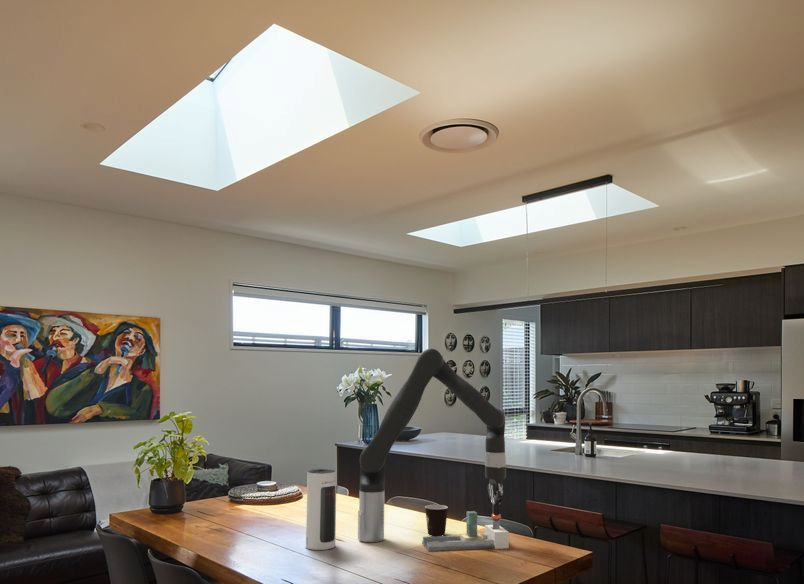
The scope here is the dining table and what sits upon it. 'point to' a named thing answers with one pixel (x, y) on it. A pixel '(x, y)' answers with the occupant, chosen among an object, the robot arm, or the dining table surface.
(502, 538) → the end cabinet
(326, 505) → the speaker
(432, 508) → the coffee mug
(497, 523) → the gauge plunger
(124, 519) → the dining table surface
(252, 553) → the dining table surface
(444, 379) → the robot arm
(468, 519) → the carriage
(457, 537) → the rail bed
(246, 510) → the dining table surface
